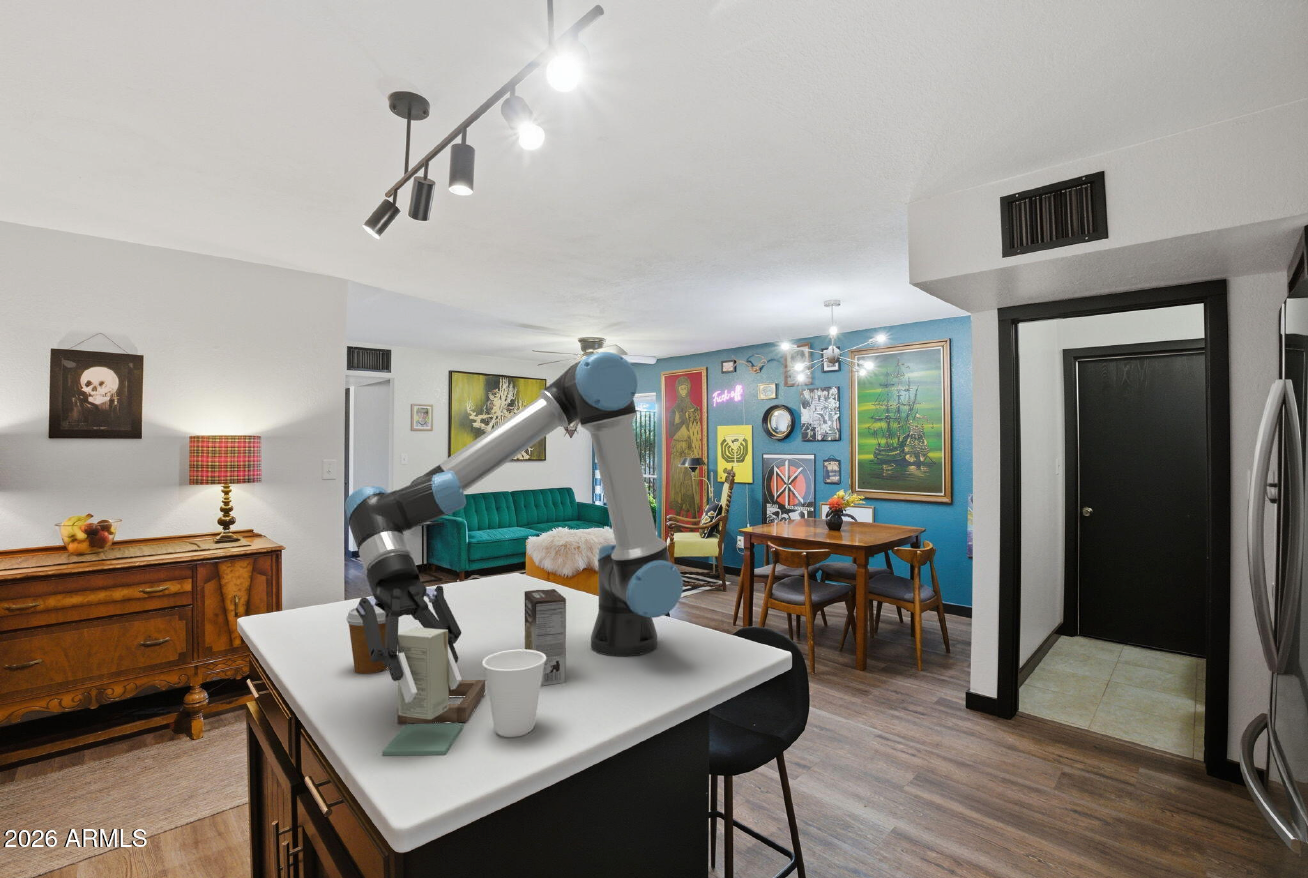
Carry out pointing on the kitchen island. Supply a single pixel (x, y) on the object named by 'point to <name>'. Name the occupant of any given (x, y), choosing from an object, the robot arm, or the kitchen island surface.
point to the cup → (514, 689)
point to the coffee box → (547, 631)
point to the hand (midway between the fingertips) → (434, 690)
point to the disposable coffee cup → (364, 642)
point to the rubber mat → (423, 739)
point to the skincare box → (425, 672)
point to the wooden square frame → (456, 712)
